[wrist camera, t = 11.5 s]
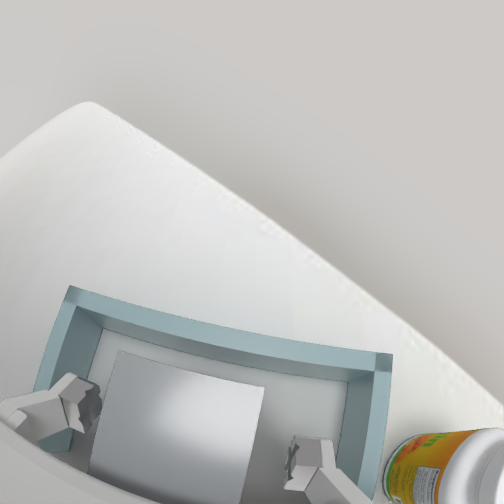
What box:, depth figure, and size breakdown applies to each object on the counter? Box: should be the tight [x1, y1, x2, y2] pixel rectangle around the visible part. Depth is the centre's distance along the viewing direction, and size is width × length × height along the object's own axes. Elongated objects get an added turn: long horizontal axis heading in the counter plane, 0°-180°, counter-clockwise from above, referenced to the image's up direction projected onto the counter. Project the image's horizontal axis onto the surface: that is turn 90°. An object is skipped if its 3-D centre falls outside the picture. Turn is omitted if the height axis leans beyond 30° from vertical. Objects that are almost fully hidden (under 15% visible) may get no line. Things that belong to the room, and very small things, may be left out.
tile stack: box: [87, 350, 265, 504], centre depth 11 cm, size 5×5×9 cm
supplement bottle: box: [384, 428, 504, 504], centre depth 9 cm, size 5×5×10 cm
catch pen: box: [33, 285, 393, 501], centre depth 14 cm, size 18×10×4 cm, turn 79°
